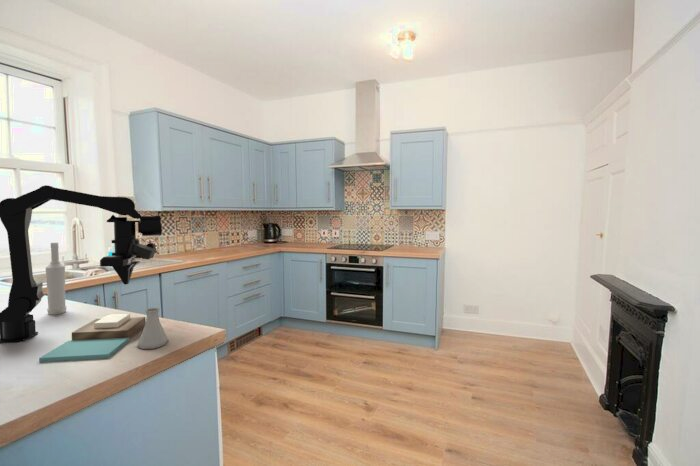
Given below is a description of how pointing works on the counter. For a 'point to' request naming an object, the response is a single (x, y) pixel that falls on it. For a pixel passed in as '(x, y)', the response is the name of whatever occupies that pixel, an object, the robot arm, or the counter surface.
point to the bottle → (55, 283)
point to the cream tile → (112, 320)
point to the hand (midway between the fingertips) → (126, 284)
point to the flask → (152, 331)
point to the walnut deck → (110, 330)
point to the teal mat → (85, 349)
